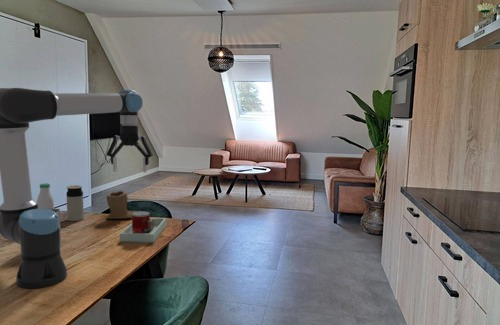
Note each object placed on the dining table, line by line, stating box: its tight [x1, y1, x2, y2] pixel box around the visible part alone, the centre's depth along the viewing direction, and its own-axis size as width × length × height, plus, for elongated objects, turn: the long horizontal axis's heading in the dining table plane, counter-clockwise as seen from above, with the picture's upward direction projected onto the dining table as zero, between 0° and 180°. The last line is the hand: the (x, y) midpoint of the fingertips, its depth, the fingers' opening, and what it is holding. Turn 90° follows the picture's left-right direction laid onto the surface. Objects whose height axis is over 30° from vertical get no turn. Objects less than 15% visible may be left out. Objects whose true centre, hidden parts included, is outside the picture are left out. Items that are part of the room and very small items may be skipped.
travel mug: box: [65, 184, 85, 222], centre depth 198 cm, size 8×8×18 cm
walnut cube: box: [150, 219, 154, 232], centre depth 181 cm, size 5×5×5 cm
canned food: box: [131, 210, 151, 234], centre depth 171 cm, size 8×8×11 cm
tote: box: [119, 217, 168, 244], centre depth 178 cm, size 26×15×4 cm, turn 0°
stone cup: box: [106, 190, 138, 220], centre depth 202 cm, size 15×12×15 cm
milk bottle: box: [36, 183, 55, 209], centre depth 193 cm, size 8×8×20 cm
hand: (130, 171), depth 169 cm, fingers open, 13 cm apart
